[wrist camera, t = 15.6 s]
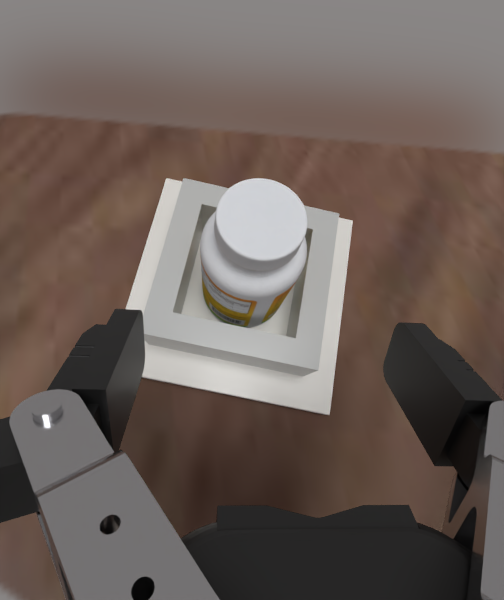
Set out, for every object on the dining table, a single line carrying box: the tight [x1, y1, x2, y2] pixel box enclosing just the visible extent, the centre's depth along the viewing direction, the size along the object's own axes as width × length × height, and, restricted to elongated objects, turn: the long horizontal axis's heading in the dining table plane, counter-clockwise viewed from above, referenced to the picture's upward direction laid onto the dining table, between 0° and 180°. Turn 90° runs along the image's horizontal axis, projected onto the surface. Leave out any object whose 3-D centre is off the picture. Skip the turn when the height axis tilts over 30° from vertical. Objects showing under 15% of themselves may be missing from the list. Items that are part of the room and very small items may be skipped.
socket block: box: [126, 178, 353, 415], centre depth 24 cm, size 14×14×4 cm
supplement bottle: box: [200, 178, 307, 328], centre depth 20 cm, size 5×5×10 cm
